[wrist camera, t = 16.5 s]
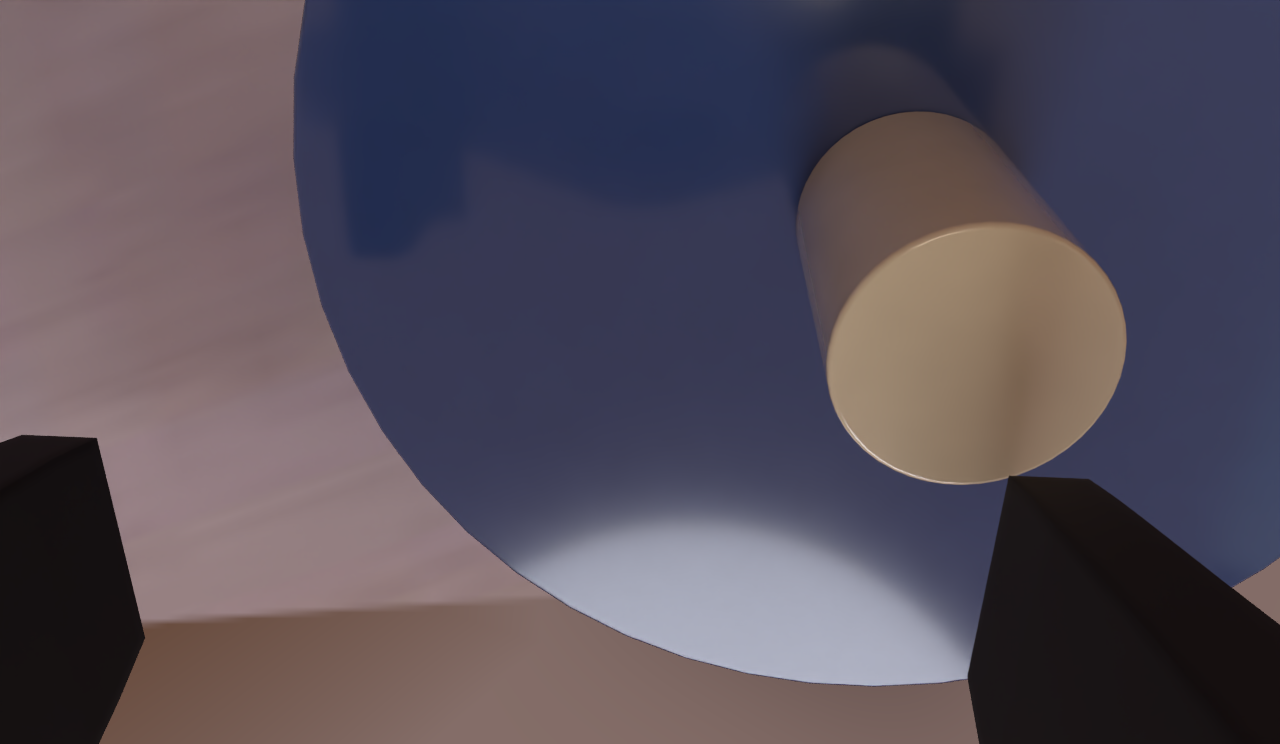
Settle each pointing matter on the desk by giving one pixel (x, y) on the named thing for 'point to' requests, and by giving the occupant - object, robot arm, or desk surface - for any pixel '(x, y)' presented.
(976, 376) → the crock lid
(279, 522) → the desk surface
